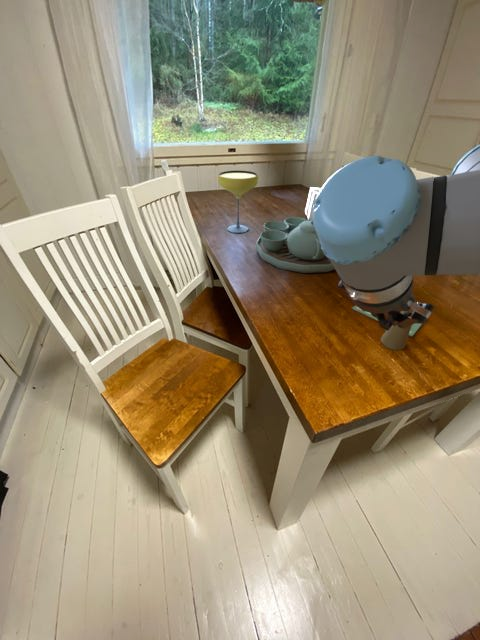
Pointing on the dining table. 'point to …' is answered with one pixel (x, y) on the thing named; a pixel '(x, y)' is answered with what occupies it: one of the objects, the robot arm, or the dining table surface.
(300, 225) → the tea set
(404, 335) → the cork
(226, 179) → the cocktail glass
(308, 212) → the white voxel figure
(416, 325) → the cloth
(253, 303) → the dining table surface
